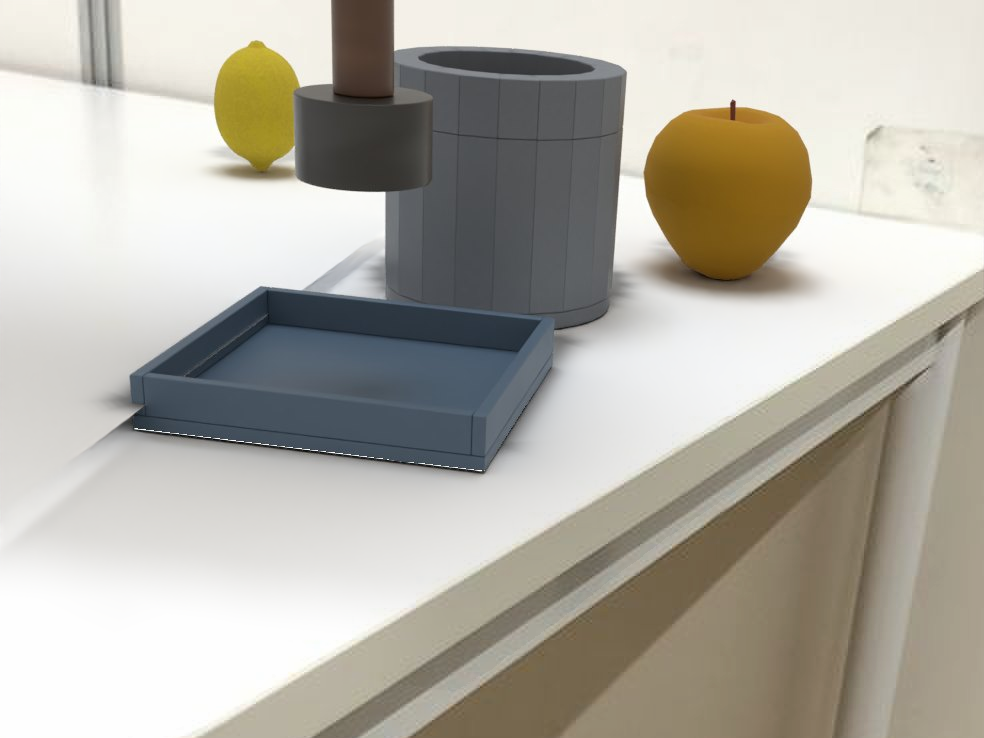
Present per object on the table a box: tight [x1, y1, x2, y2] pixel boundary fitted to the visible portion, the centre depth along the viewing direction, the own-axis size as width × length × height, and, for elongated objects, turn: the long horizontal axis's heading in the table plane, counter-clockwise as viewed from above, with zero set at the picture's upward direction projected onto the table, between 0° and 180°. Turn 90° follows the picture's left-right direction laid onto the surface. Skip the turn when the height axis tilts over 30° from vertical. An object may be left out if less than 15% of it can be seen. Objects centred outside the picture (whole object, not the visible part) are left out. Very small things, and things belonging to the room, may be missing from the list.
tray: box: [129, 285, 555, 471], centre depth 59 cm, size 13×13×2 cm
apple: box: [643, 99, 813, 281], centre depth 79 cm, size 9×9×9 cm
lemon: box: [213, 39, 301, 172], centre depth 95 cm, size 6×6×8 cm
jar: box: [384, 45, 628, 330], centre depth 71 cm, size 11×11×11 cm
